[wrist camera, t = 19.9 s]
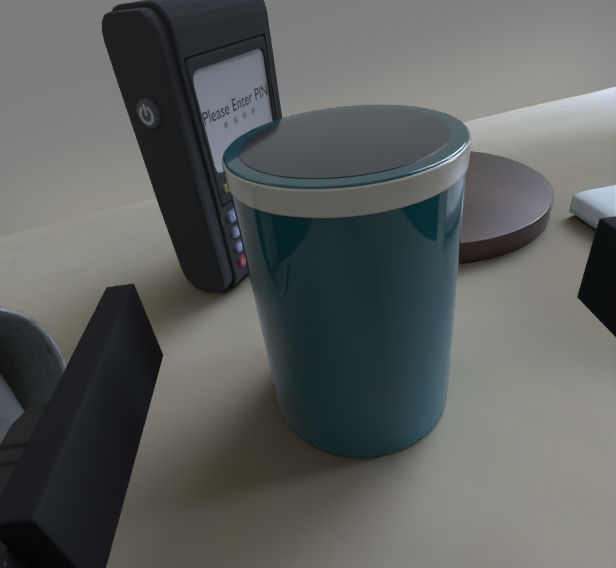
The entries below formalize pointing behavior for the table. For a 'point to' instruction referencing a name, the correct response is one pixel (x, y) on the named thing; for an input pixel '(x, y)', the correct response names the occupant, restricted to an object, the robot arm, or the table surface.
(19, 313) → the ceramic mug
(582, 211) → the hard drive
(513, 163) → the plate
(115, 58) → the card reader
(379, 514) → the table surface
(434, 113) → the tumbler
